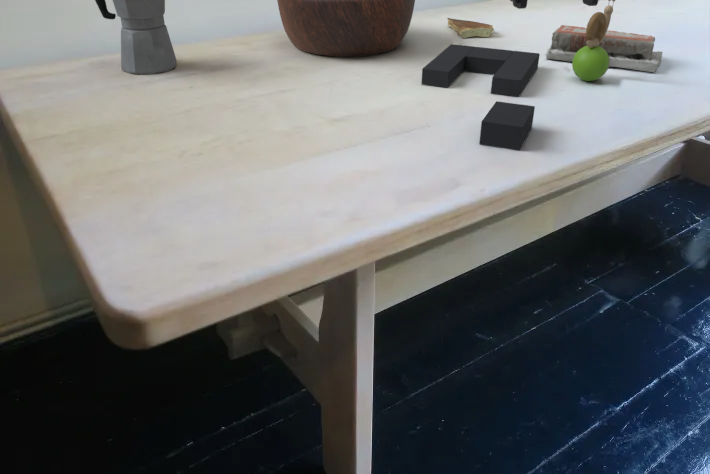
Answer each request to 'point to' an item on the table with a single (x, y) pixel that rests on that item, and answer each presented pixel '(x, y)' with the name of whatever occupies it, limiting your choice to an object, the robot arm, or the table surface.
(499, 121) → the pad piece
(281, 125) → the table surface
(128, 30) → the coffeepot
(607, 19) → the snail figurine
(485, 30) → the pie slice
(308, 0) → the wooden bowl
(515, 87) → the base pad
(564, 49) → the weathered brick
